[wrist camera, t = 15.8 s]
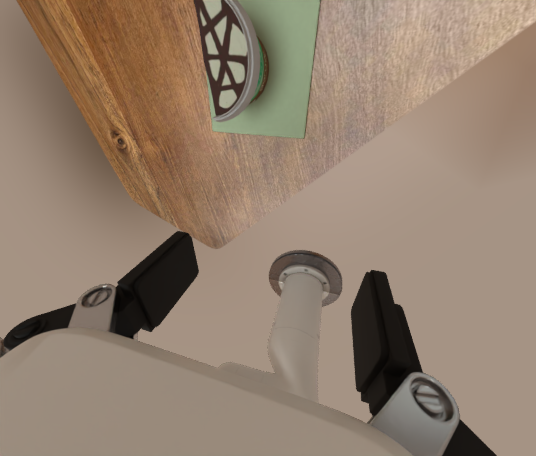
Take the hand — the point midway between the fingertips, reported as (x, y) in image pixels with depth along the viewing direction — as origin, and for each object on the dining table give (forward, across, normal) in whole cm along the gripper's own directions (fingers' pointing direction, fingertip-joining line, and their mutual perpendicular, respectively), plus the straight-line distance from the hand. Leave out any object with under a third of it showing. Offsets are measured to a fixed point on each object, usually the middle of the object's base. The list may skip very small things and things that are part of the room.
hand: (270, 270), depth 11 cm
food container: (+28, +10, -11) cm, 32 cm away
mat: (+28, +10, -11) cm, 32 cm away
